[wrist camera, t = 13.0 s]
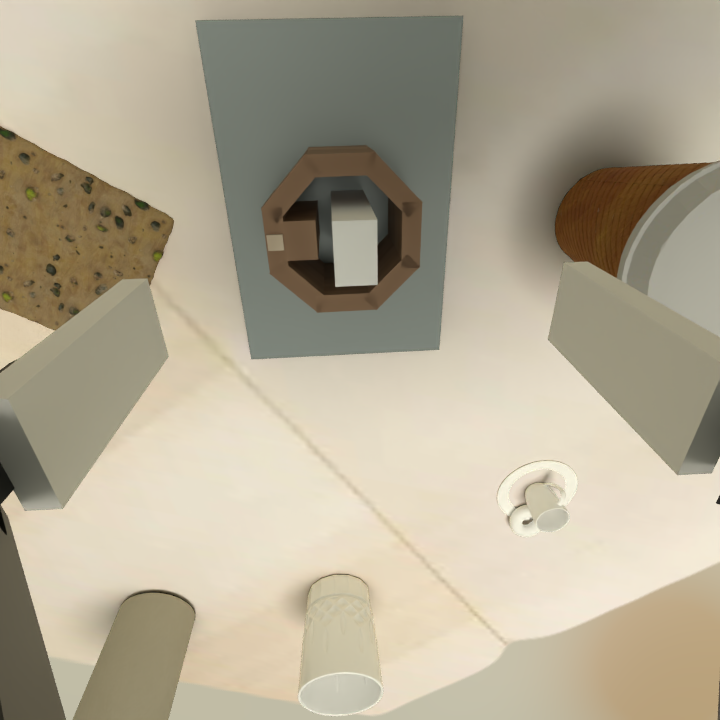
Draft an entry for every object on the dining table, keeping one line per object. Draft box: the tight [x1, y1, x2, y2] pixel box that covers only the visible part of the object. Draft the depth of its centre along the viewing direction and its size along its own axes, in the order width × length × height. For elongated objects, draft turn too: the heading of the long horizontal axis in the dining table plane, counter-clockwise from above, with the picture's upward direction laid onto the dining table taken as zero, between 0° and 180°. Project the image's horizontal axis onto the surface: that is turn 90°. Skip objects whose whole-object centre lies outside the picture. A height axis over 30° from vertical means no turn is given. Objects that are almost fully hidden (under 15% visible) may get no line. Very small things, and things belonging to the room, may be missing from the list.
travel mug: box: [73, 593, 195, 720], centre depth 41 cm, size 8×8×18 cm
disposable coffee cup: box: [555, 161, 720, 337], centre depth 25 cm, size 10×10×12 cm
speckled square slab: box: [0, 126, 174, 330], centre depth 29 cm, size 12×12×1 cm
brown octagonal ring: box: [261, 145, 423, 313], centre depth 25 cm, size 8×8×6 cm
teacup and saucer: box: [497, 461, 578, 537], centre depth 42 cm, size 9×8×4 cm
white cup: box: [298, 575, 384, 716], centre depth 45 cm, size 8×8×10 cm
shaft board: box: [195, 16, 463, 359], centre depth 24 cm, size 14×20×10 cm
